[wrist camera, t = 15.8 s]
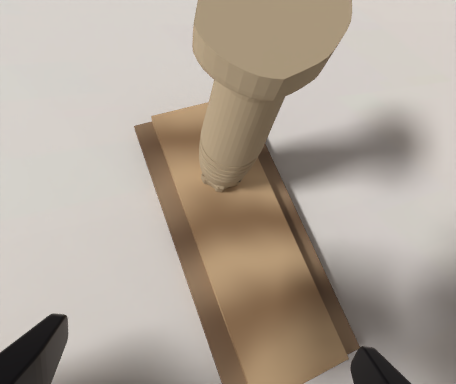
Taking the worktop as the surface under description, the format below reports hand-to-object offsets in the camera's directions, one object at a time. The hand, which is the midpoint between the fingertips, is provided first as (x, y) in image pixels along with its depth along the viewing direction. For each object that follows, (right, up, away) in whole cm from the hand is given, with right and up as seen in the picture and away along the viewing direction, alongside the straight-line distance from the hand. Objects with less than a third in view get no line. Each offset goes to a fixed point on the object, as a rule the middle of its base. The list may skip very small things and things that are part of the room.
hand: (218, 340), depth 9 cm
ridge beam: (+1, +1, +15) cm, 15 cm away
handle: (0, +6, +15) cm, 16 cm away
